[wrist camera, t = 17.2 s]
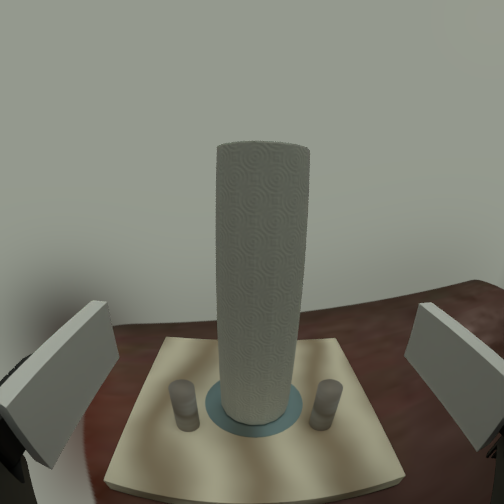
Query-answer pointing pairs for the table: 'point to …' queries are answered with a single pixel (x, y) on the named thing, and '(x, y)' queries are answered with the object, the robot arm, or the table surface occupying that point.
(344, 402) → the plate
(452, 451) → the table surface
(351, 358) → the table surface
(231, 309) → the paper towel roll
